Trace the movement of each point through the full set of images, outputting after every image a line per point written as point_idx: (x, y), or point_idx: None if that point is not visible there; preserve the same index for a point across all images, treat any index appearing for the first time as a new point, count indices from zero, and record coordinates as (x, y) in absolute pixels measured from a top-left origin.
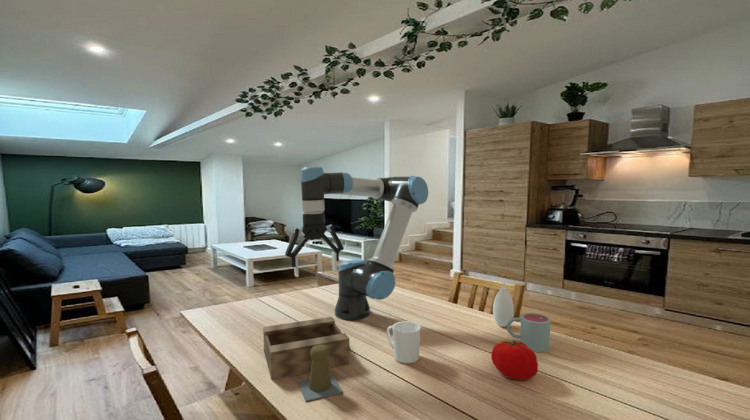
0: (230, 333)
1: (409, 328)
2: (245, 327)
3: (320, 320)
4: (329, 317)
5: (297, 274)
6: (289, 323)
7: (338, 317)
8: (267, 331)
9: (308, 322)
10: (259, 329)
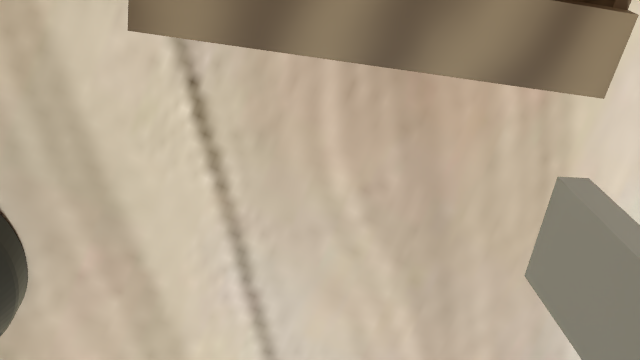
0: None
1: None
2: (497, 331)
3: (234, 4)
4: (148, 24)
5: (594, 199)
6: (446, 69)
7: (18, 240)
8: (622, 11)
9: (327, 15)
10: (454, 285)
